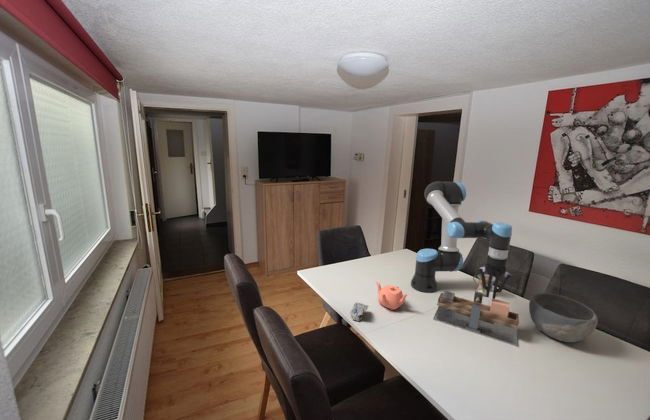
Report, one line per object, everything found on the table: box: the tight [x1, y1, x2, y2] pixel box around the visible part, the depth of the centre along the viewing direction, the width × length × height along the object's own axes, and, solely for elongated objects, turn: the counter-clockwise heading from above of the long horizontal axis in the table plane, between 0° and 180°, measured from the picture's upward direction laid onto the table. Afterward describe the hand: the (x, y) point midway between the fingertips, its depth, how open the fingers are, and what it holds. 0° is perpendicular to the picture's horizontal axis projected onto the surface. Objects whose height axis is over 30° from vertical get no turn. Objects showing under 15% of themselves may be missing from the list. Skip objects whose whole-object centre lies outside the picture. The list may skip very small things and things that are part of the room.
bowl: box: [528, 292, 599, 343], centre depth 131 cm, size 24×24×15 cm
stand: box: [432, 290, 518, 347], centre depth 138 cm, size 35×18×13 cm, turn 58°
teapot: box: [375, 281, 410, 311], centre depth 152 cm, size 14×14×11 cm
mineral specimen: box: [350, 302, 369, 322], centre depth 141 cm, size 10×8×10 cm
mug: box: [473, 273, 496, 297], centre depth 169 cm, size 12×9×11 cm
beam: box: [436, 290, 520, 331], centre depth 138 cm, size 34×12×7 cm, turn 58°
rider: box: [490, 298, 511, 317], centre depth 133 cm, size 7×4×7 cm, turn 58°
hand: (489, 303), depth 135 cm, fingers closed
